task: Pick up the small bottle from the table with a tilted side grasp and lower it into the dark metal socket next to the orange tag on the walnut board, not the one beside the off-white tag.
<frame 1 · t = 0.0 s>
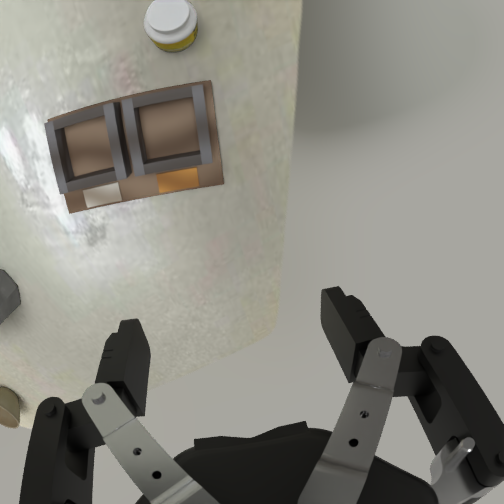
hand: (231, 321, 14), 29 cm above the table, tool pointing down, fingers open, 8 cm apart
flower pot: (9, 393, 54), on the table
socket board: (133, 146, 36), on the table
supplement bottle: (175, 32, 31), on the table
coffeepot: (0, 293, 42), on the table
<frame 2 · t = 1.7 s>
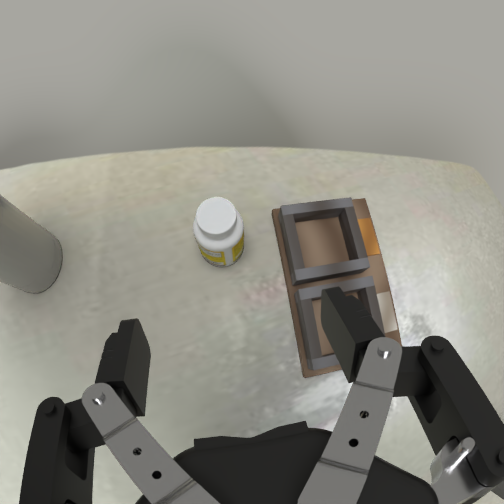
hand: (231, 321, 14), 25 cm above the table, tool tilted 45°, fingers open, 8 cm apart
socket board: (337, 283, 39), on the table
supplement bottle: (221, 247, 41), on the table
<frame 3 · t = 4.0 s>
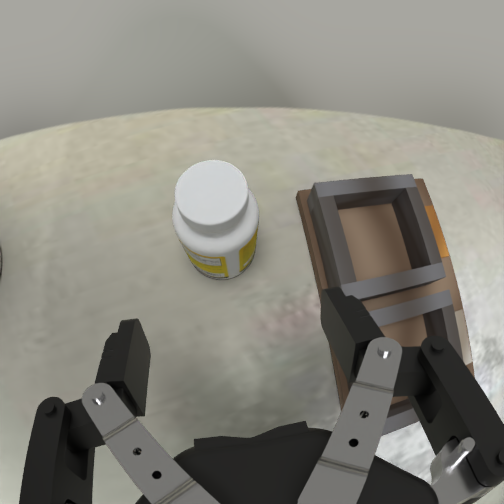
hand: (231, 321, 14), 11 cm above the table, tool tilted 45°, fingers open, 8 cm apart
socket board: (394, 300, 25), on the table
supplement bottle: (221, 248, 26), on the table
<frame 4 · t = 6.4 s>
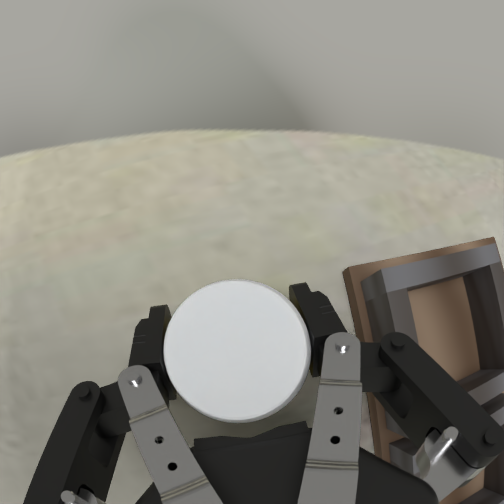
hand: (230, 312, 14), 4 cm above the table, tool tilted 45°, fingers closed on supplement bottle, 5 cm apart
socket board: (454, 400, 17), on the table
supplement bottle: (238, 351, 18), on the table, touching gripper
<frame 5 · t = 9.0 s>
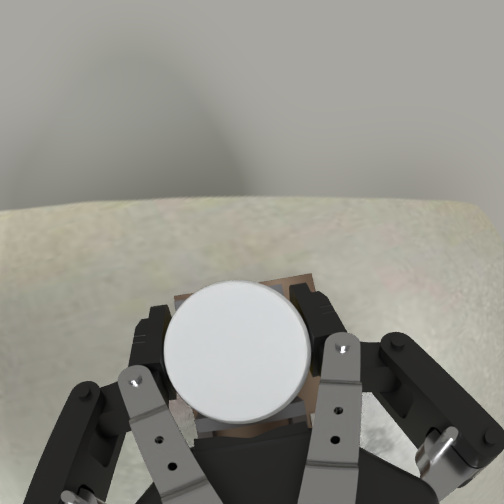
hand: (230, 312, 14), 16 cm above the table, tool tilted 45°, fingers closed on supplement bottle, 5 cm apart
socket board: (262, 395, 28), on the table
supplement bottle: (238, 351, 18), point 12 cm above the table, touching gripper
when the fingers open (6 cm above the table, at t = 11.7 s): supplement bottle drops 1 cm, resting on socket board.
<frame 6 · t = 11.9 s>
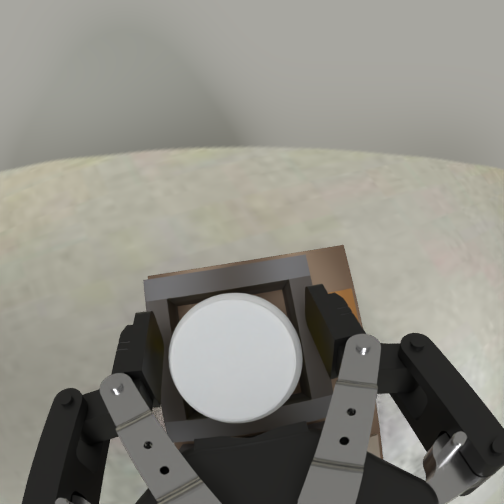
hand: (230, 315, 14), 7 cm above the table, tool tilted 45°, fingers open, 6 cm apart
socket board: (275, 419, 19), on the table
supplement bottle: (237, 354, 19), point 1 cm above the table, touching socket board
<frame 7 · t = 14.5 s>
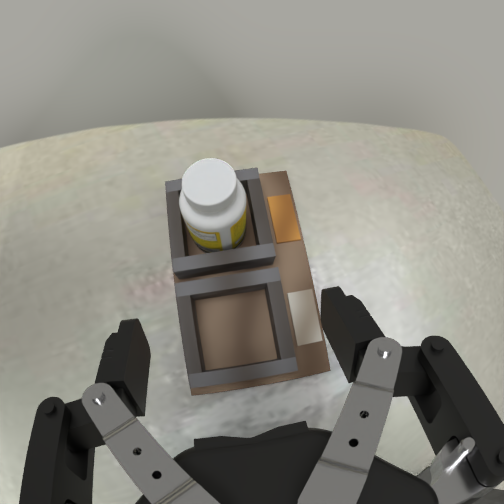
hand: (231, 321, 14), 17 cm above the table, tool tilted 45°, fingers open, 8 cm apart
socket board: (242, 277, 32), on the table
supplement bottle: (218, 231, 32), point 1 cm above the table, touching socket board
coffeepot: (433, 496, 25), on the table
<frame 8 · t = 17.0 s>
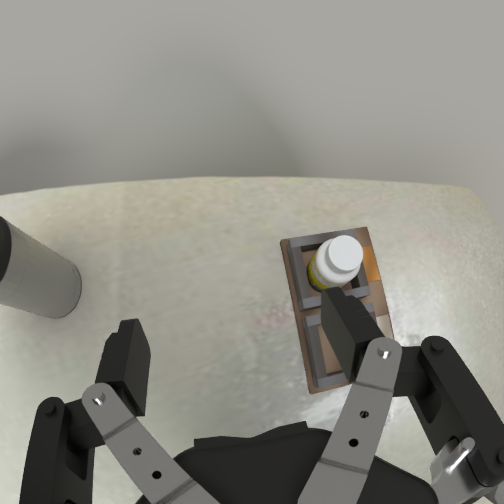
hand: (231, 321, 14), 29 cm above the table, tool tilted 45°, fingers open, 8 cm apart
socket board: (340, 307, 43), on the table
supplement bottle: (324, 274, 43), point 1 cm above the table, touching socket board
coffeepot: (462, 458, 35), on the table
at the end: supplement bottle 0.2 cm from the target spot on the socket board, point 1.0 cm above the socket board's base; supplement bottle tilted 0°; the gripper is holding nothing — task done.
